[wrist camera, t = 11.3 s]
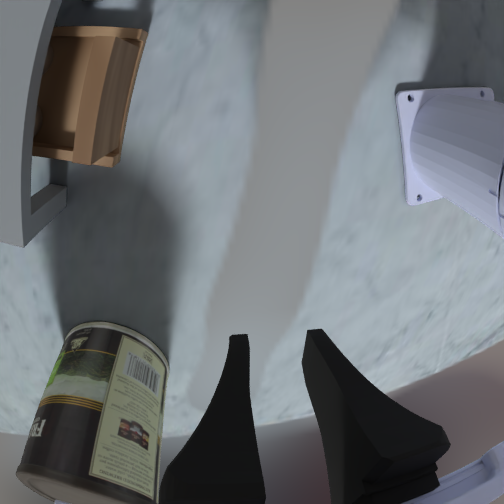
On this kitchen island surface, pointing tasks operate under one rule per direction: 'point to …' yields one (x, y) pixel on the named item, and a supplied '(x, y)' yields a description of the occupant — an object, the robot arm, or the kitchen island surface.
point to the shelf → (23, 118)
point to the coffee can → (99, 420)
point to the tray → (87, 93)
